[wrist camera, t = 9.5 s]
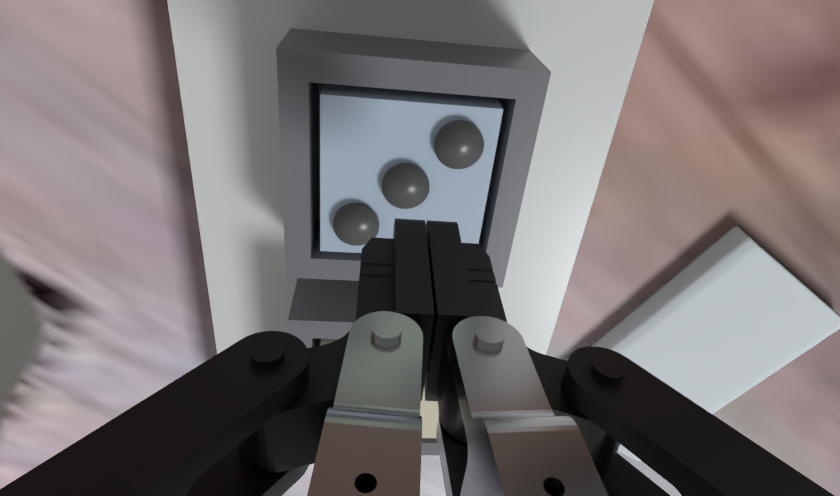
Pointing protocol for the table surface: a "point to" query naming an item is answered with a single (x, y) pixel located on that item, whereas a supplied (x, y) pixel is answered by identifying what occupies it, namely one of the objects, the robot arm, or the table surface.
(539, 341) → the button panel
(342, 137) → the button three
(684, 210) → the table surface
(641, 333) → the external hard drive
